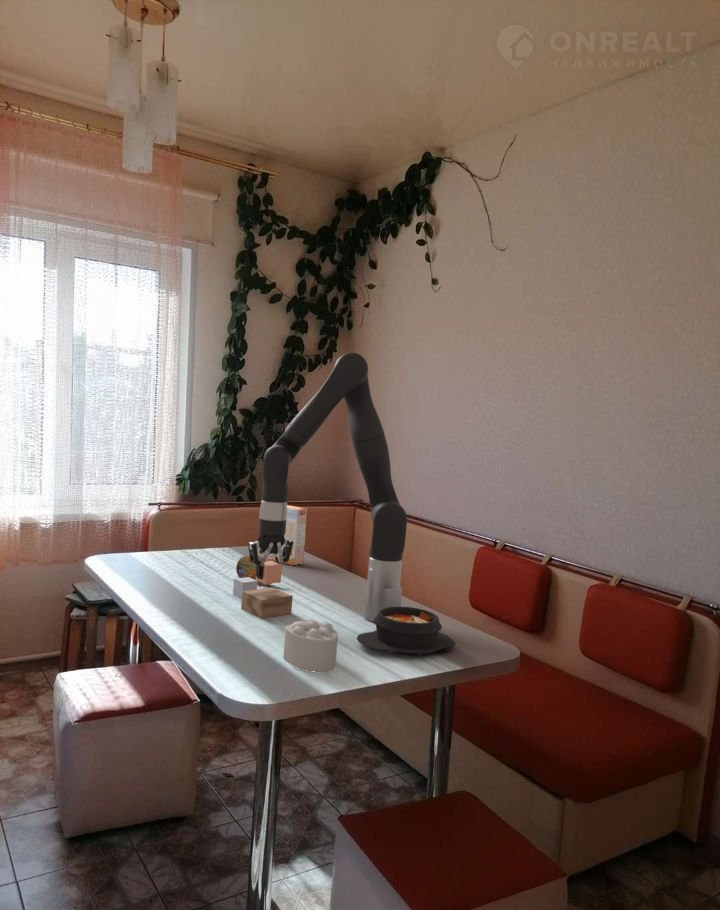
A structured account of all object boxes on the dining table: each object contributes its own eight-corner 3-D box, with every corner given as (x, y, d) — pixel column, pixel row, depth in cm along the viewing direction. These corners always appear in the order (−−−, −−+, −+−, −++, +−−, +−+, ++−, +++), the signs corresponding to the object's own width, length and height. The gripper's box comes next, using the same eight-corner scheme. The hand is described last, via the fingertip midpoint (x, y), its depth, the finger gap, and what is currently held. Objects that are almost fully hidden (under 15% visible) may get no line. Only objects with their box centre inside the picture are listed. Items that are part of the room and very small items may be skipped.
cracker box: (303, 564, 261) (308, 507, 260) (293, 566, 256) (298, 509, 255) (274, 557, 269) (278, 502, 267) (263, 559, 263) (267, 503, 262)
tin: (234, 579, 231) (236, 554, 230) (240, 578, 234) (242, 552, 233) (273, 588, 224) (275, 561, 223) (278, 586, 227) (280, 560, 226)
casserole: (433, 634, 190) (436, 603, 189) (468, 658, 172) (471, 624, 172) (345, 637, 180) (348, 605, 180) (373, 663, 163) (376, 628, 163)
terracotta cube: (280, 582, 197) (282, 564, 197) (265, 584, 194) (266, 566, 194) (270, 578, 201) (271, 560, 201) (255, 580, 198) (256, 562, 197)
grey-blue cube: (256, 597, 212) (257, 580, 211) (241, 599, 208) (243, 582, 208) (247, 593, 215) (248, 577, 215) (232, 595, 212) (234, 578, 212)
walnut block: (291, 613, 197) (292, 595, 197) (260, 618, 191) (262, 600, 190) (271, 604, 205) (272, 587, 205) (241, 608, 198) (242, 591, 198)
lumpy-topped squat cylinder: (316, 650, 169) (318, 614, 169) (346, 668, 159) (349, 630, 158) (277, 656, 163) (280, 619, 163) (306, 675, 153) (309, 636, 152)
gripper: (258, 520, 189) (253, 583, 190) (302, 518, 198) (297, 578, 199) (243, 515, 194) (238, 577, 195) (286, 514, 204) (281, 572, 205)
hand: (268, 577), depth 197 cm, fingers closed on terracotta cube, 5 cm apart
